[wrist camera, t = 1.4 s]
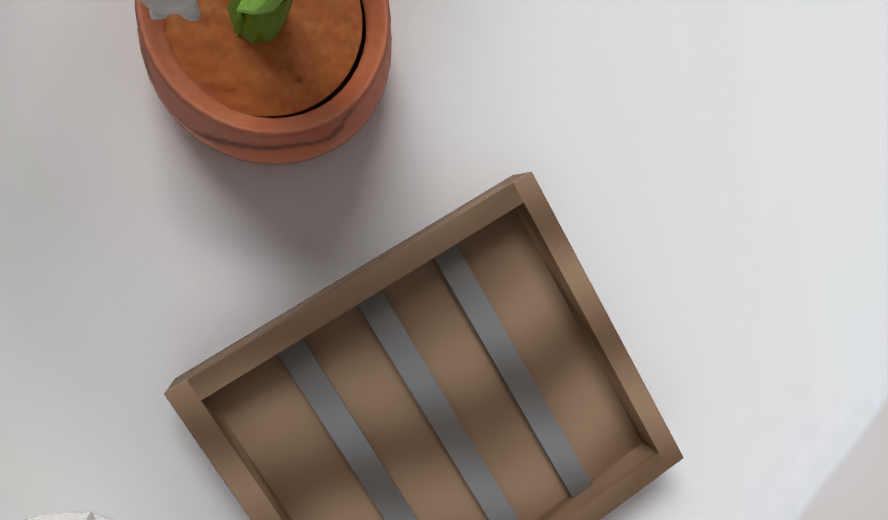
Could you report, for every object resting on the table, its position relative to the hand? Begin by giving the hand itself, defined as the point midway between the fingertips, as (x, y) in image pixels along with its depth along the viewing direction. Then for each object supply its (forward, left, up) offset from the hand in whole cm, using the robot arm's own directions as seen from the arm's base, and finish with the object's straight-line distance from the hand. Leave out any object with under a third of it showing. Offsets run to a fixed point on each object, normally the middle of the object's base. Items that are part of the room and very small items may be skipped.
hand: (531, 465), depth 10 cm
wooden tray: (+6, 0, -21) cm, 22 cm away
